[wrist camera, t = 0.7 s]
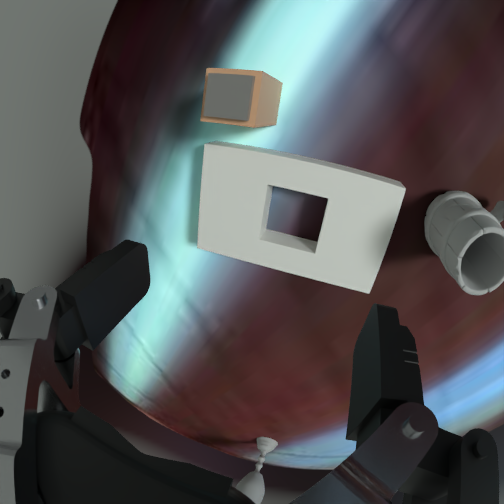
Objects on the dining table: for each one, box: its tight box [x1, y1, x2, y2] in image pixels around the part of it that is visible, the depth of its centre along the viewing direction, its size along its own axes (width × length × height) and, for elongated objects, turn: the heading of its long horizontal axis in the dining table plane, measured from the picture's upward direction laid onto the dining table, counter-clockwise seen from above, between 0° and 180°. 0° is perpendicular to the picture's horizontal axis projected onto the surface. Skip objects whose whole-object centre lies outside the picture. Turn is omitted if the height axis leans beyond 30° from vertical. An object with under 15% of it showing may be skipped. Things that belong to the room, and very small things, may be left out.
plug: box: [201, 68, 282, 128], centre depth 23 cm, size 5×5×9 cm
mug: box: [424, 191, 504, 295], centre depth 20 cm, size 8×12×12 cm, turn 121°
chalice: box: [236, 437, 278, 504], centre depth 48 cm, size 7×7×18 cm
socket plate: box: [197, 141, 406, 293], centre depth 30 cm, size 12×20×3 cm, turn 82°
